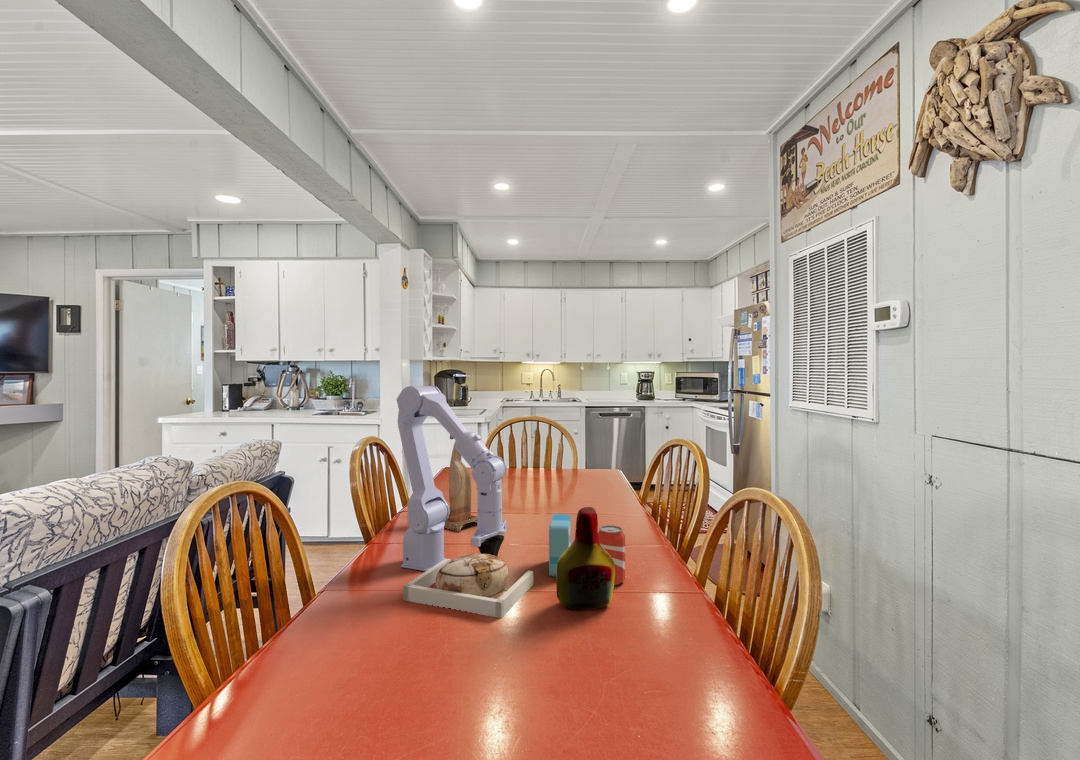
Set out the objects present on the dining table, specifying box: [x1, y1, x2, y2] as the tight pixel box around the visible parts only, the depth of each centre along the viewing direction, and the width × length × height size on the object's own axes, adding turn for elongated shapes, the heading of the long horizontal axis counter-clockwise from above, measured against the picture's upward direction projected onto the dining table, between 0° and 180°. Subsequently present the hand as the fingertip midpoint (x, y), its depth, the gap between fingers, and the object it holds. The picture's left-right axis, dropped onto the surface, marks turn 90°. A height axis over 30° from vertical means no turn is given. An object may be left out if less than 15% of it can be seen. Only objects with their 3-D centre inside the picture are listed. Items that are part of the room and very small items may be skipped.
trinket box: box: [435, 553, 510, 599], centre depth 112 cm, size 13×15×8 cm
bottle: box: [555, 506, 615, 610], centre depth 105 cm, size 12×6×20 cm, turn 90°
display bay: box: [402, 558, 534, 619], centre depth 112 cm, size 22×17×3 cm
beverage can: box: [598, 524, 626, 586], centre depth 118 cm, size 6×6×12 cm
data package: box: [548, 513, 572, 578], centre depth 125 cm, size 12×4×12 cm, turn 174°
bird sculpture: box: [444, 434, 477, 533], centre depth 161 cm, size 11×12×32 cm
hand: (489, 568), depth 121 cm, fingers closed
